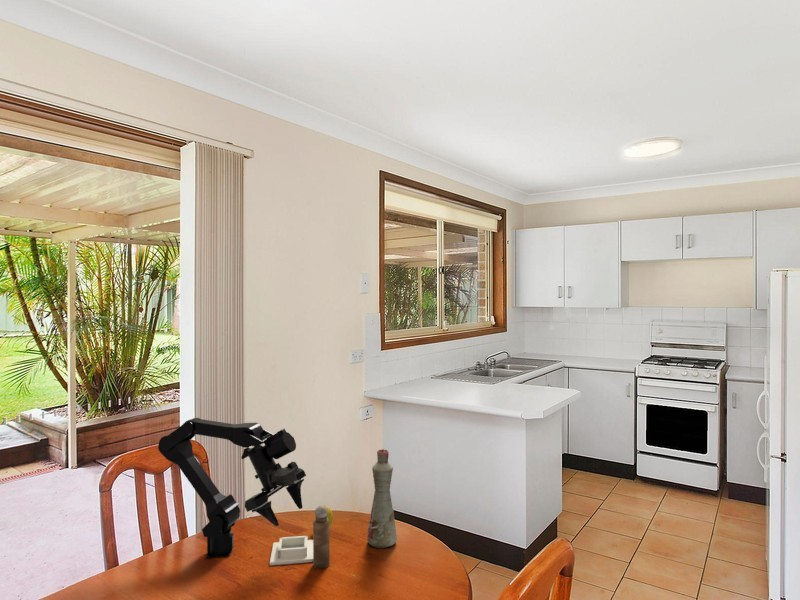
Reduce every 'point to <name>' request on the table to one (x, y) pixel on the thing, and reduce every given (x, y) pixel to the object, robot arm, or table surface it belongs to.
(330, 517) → the lemon
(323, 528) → the pepper mill
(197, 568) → the table surface
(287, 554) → the mill stand
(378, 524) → the bottle
